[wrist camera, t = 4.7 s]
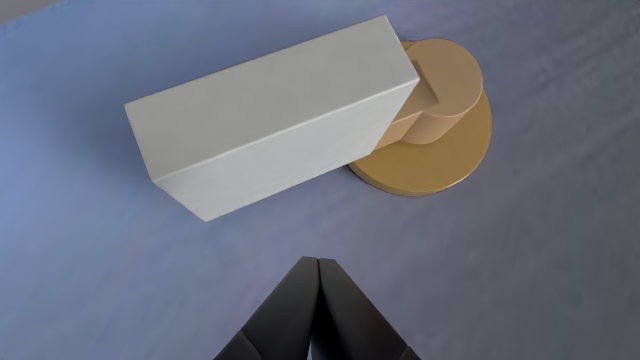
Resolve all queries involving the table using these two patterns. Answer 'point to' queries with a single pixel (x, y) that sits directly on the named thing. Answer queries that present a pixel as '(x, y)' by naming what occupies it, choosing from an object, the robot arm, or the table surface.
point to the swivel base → (430, 156)
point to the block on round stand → (299, 114)
